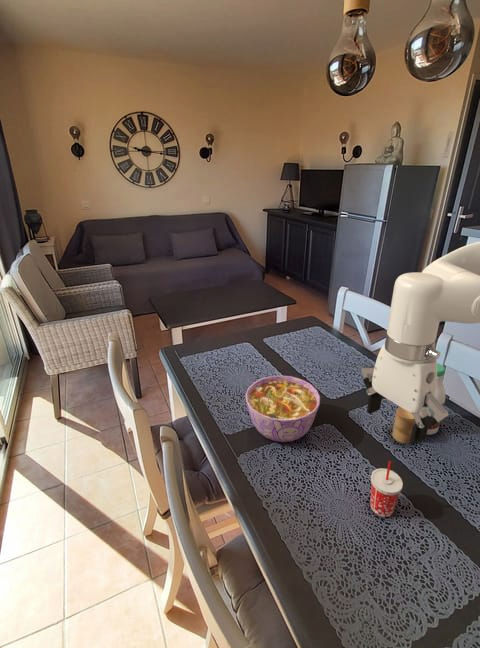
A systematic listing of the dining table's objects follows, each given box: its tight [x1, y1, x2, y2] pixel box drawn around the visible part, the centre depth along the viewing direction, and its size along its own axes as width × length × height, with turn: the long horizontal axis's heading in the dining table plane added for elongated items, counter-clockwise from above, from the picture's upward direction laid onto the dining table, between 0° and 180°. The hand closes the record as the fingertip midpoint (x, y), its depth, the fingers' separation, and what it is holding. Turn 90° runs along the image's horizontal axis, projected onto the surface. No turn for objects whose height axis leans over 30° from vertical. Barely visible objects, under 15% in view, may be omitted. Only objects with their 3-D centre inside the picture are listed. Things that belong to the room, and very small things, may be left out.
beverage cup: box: [369, 460, 404, 518], centre depth 75 cm, size 6×6×14 cm
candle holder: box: [391, 406, 416, 444], centre depth 95 cm, size 6×6×9 cm
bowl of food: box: [244, 374, 321, 443], centre depth 99 cm, size 20×20×12 cm
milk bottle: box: [420, 362, 446, 436], centre depth 97 cm, size 8×8×20 cm
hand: (393, 424), depth 68 cm, fingers open, 9 cm apart
